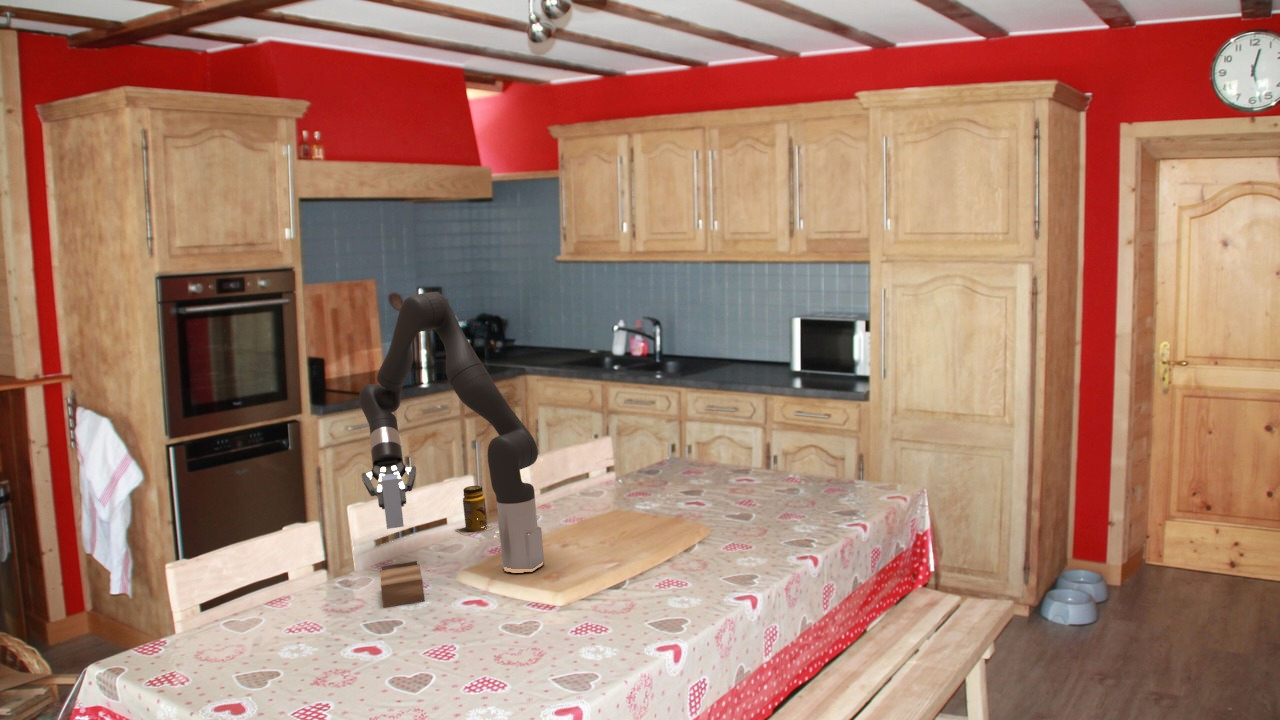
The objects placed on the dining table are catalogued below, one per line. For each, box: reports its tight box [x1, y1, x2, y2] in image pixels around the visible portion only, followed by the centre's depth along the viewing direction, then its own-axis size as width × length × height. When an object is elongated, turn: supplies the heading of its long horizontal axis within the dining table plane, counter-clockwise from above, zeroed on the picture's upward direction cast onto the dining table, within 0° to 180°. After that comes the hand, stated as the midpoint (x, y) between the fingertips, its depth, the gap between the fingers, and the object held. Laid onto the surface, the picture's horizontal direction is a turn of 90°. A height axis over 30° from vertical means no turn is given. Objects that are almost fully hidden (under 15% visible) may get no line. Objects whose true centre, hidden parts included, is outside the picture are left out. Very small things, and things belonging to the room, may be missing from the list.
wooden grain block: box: [379, 560, 425, 608], centre depth 242 cm, size 20×9×6 cm, turn 15°
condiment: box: [454, 485, 494, 536], centre depth 290 cm, size 7×8×12 cm
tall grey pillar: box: [381, 474, 405, 530], centre depth 257 cm, size 7×4×12 cm, turn 15°
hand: (393, 505), depth 255 cm, fingers closed on tall grey pillar, 4 cm apart
